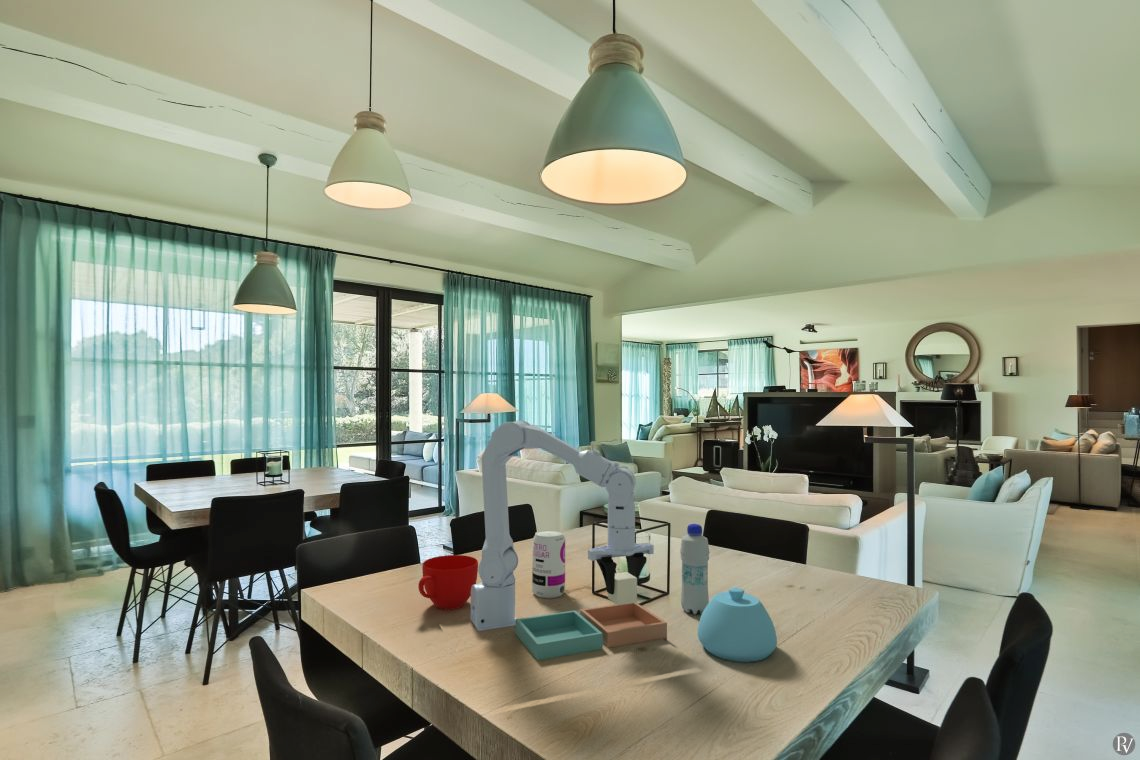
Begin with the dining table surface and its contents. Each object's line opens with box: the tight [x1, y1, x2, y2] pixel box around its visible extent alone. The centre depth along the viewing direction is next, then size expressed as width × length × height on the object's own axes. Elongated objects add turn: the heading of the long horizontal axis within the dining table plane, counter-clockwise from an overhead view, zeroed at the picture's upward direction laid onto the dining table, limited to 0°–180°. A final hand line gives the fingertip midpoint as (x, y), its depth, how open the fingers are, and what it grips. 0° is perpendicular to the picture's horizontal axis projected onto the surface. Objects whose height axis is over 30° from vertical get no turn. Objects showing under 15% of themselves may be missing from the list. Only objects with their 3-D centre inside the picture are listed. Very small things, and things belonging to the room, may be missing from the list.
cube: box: [607, 571, 638, 605], centre depth 123 cm, size 4×4×5 cm
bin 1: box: [515, 610, 604, 661], centre depth 118 cm, size 13×13×4 cm
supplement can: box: [531, 529, 566, 599], centre depth 148 cm, size 8×8×15 cm
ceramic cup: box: [418, 554, 479, 610], centre depth 138 cm, size 13×17×10 cm
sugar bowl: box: [697, 587, 778, 663], centre depth 117 cm, size 15×15×12 cm
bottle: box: [679, 523, 710, 615], centre depth 137 cm, size 7×7×20 cm
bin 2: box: [579, 602, 668, 649], centre depth 124 cm, size 13×13×4 cm
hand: (621, 591), depth 124 cm, fingers closed on cube, 4 cm apart
